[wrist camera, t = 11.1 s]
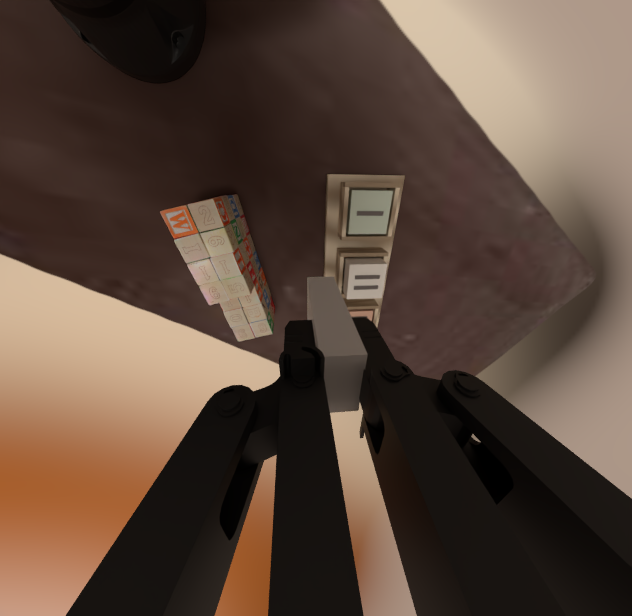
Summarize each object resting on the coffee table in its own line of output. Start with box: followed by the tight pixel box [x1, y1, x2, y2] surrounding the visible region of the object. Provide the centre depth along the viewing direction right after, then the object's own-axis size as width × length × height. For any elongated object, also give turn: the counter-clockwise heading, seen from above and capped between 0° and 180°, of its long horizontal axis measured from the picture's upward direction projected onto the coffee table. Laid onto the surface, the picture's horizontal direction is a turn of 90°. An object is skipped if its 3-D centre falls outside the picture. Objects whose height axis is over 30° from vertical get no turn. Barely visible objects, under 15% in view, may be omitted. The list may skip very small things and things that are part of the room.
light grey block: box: [346, 190, 393, 234], centre depth 35 cm, size 6×6×4 cm
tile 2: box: [343, 257, 388, 299], centre depth 37 cm, size 6×6×4 cm
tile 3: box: [348, 309, 373, 321], centre depth 44 cm, size 6×6×4 cm
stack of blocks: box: [160, 194, 275, 342], centre depth 35 cm, size 21×6×12 cm, turn 12°
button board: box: [323, 174, 405, 327], centre depth 40 cm, size 30×12×5 cm, turn 179°
